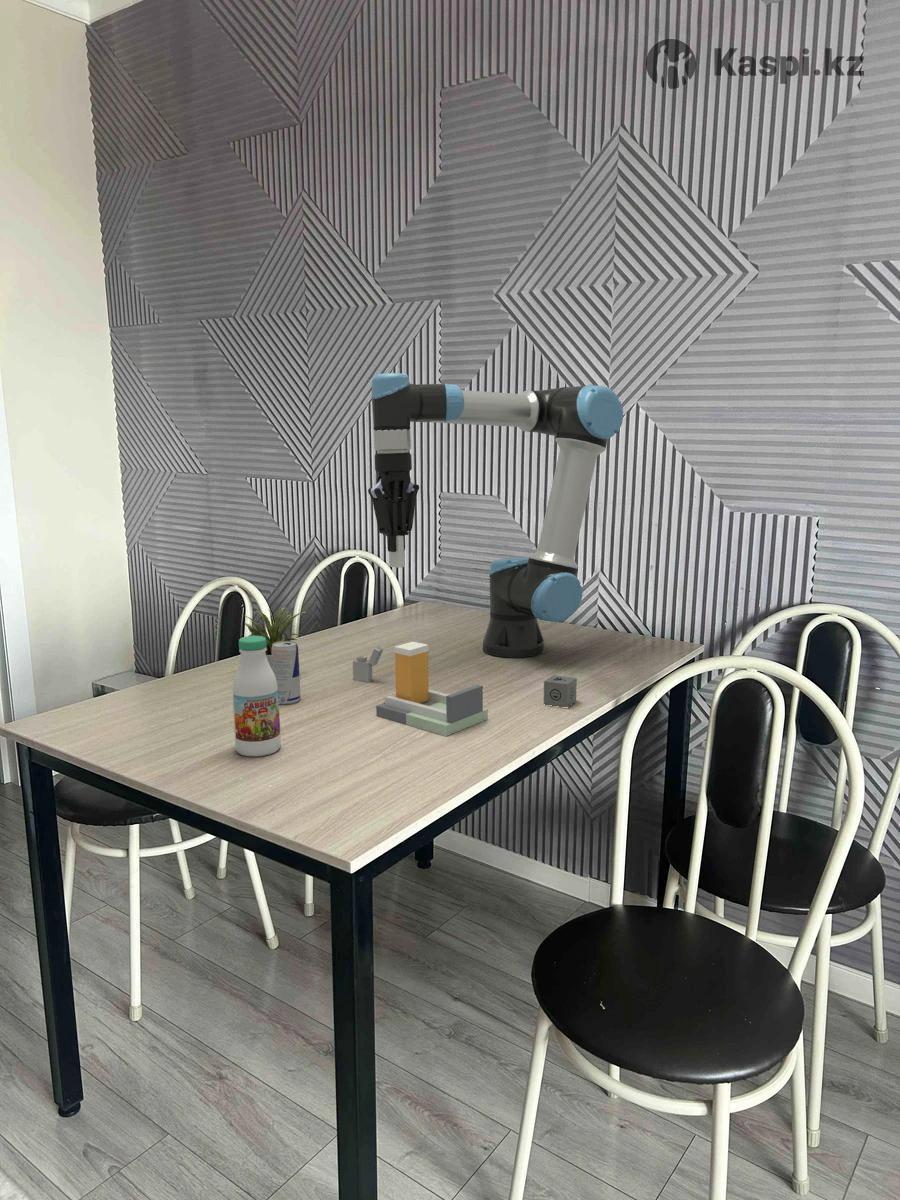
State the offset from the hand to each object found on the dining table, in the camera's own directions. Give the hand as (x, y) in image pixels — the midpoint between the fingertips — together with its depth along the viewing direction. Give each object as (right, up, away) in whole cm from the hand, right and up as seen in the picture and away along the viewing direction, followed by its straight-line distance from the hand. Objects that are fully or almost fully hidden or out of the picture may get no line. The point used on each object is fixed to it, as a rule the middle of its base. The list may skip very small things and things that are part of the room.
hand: (397, 566), depth 185 cm
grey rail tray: (+7, -30, -14) cm, 34 cm away
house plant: (-27, -24, +14) cm, 39 cm away
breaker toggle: (+4, -27, -11) cm, 29 cm away
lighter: (-7, -25, +11) cm, 28 cm away
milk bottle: (-22, -33, -30) cm, 50 cm away
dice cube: (+33, -28, -6) cm, 44 cm away
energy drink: (-22, -28, -3) cm, 36 cm away
